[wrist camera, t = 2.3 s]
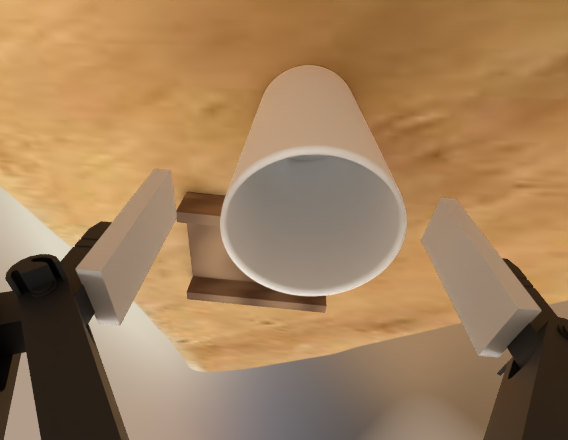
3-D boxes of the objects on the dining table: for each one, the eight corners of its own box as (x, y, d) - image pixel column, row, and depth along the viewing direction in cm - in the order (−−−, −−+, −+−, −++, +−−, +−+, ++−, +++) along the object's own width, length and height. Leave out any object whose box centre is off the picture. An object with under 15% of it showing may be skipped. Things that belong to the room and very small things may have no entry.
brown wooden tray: (343, 208, 32) (347, 229, 29) (323, 289, 39) (324, 312, 37) (187, 192, 32) (175, 211, 29) (195, 276, 39) (187, 299, 36)
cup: (247, 77, 25) (190, 168, 12) (351, 54, 24) (410, 129, 11) (271, 168, 30) (247, 304, 17) (358, 153, 28) (406, 288, 16)
